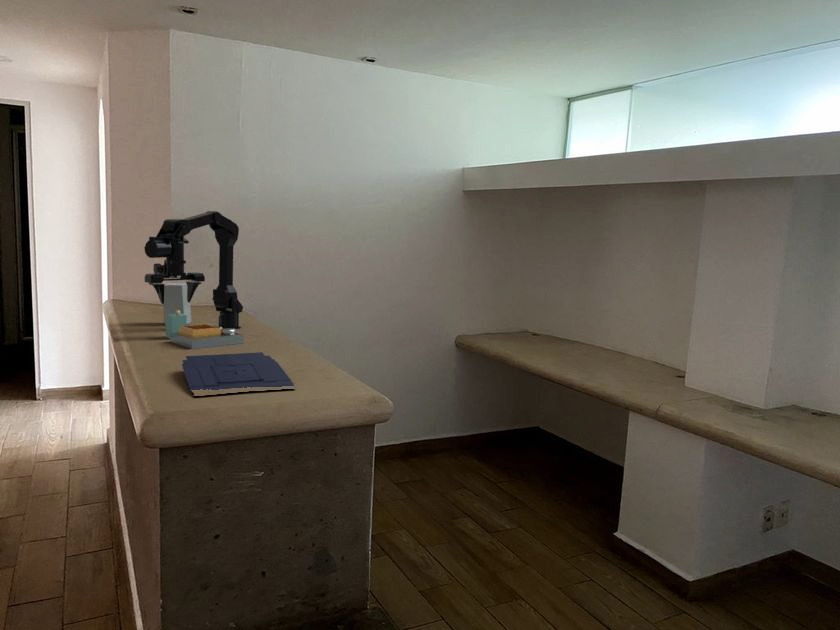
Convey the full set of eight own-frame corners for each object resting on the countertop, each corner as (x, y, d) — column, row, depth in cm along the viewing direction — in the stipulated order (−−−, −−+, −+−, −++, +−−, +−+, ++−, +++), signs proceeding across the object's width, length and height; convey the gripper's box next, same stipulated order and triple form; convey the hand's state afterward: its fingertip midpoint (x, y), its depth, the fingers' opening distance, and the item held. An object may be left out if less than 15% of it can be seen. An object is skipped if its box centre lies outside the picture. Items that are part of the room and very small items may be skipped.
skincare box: (191, 323, 253) (191, 283, 251) (183, 326, 246) (182, 284, 244) (170, 322, 254) (170, 282, 252) (162, 325, 247) (161, 283, 245)
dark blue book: (268, 361, 186) (269, 348, 185) (296, 399, 160) (297, 385, 159) (178, 366, 175) (178, 353, 174) (192, 408, 149) (192, 393, 148)
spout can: (180, 336, 226) (179, 308, 225) (186, 338, 222) (186, 310, 221) (165, 337, 222) (165, 309, 221) (172, 339, 219) (172, 311, 218)
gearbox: (220, 336, 227) (220, 321, 226) (243, 343, 217) (243, 327, 216) (170, 341, 214) (170, 325, 214) (192, 349, 204) (191, 331, 203)
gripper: (190, 255, 231) (190, 299, 233) (137, 255, 218) (138, 302, 220) (205, 257, 223) (205, 302, 225) (151, 257, 210) (152, 305, 212)
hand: (175, 303), depth 221 cm, fingers open, 9 cm apart
